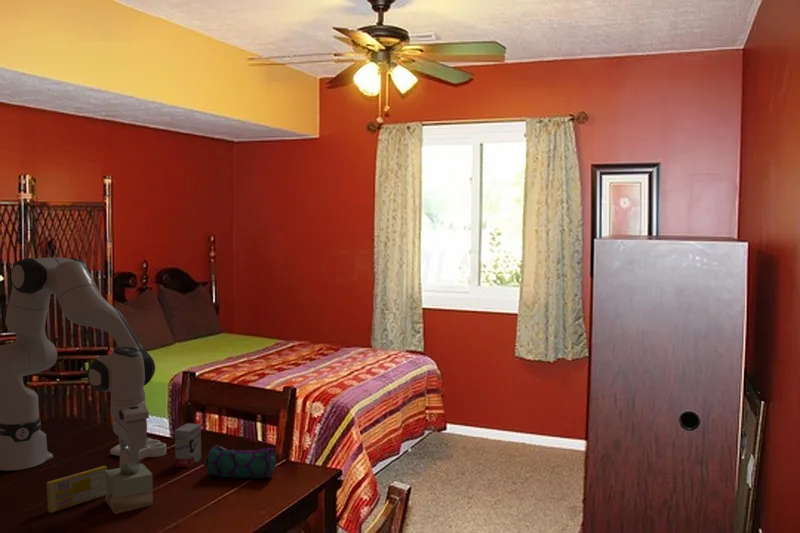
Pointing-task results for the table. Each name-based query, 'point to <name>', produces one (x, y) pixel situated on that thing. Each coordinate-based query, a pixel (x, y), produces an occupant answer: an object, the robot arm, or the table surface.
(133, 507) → the birch block
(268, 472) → the pencil case
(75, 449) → the table surface
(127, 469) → the metal cylinder
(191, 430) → the ink box
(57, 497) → the candy box
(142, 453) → the knuckle duster
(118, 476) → the sage block
